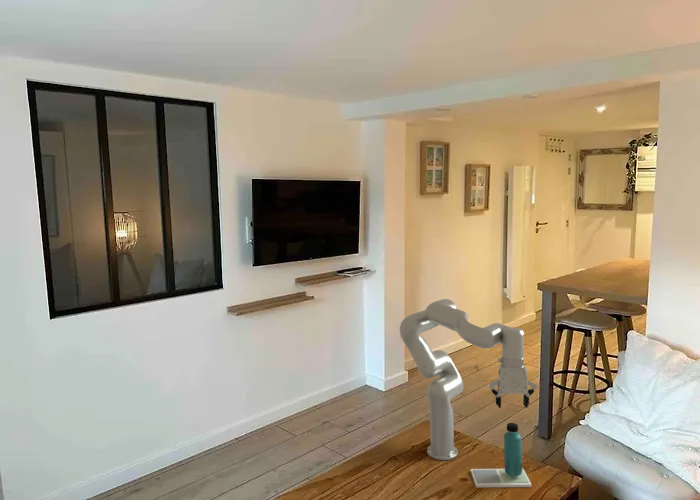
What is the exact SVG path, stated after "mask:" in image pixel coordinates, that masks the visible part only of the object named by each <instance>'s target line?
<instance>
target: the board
mask: <svg viewBox="0 0 700 500" xmlns="http://www.w3.org/2000/svg"><path fill="white" fill-rule="evenodd" d="M470 473H471V476H472V479H473V483H474V485H475V487H476V488H532V487H533V486H532V483H531V480H530V478H529V476H528V475H527V473H526V471H525V469H524V468H522V473H521V475H519V476H511V475H508V474H507V473H506V472H505V468H470Z"/></svg>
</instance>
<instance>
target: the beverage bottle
mask: <svg viewBox="0 0 700 500" xmlns="http://www.w3.org/2000/svg"><path fill="white" fill-rule="evenodd" d="M503 443H504V444H503V449H504V450H503V454H504V455H503V456H504V457H503V458H504V460H503V462H504V465H503V469H505V472H506V473H507V474H508V475H511V476H519V475H521V473H522V469H523V451H522V435H521V434H520V433H519V425H518V424H517V423H515V422H508V423H507V424H506V432H505V433H504V435H503Z"/></svg>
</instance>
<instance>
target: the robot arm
mask: <svg viewBox="0 0 700 500" xmlns="http://www.w3.org/2000/svg"><path fill="white" fill-rule="evenodd" d="M468 317H469V316H468V314H467V312H465V311H463V310H461V309H458V308H457V305H456V304H455V302H453V300H450V299H448V298H443V299H439V300H437V301H433V302H431V303H430V304H428V306H427V307H426V309H424V310H422V311H418V312H415V313H412V314H409V315H407V316H405V317H404V318H403V320H402V321H401V322H400V325H399V334H400V338H401V340H402V341H403V344H404V345H405V346H406V348H407V350H408V351H409V353H410V355H411V357H412V359H413V361H414V363H415V366H416V367H417V369H418V371H419V372H420V374H421V376H422V377H424V378H425V379H433V378H434V377H437V376H438V378H436V379H435V380H433V381H432V382H431V383H429V384H428V386H427V389H426V390H427V391H426V392H427V398H428V404H429V405H428V406H429V416H430V417H429V419H430V420H429V422H430V423H429V424H430V425H429V426H430V427H429V428H430V436H429V440H430V445H429V446H428V447H427V449H426V450H427V455H428V456H429V457H430V458H432V459H435V460H439V461H449V460H450V461H451V460H453V459H455V458H456V457H457V456H458V454H459V450H458V448H457V447H456V446H455V432H454V431H455V429H454V427H455V425H454V409H453V406H452V403H451V400H452V399H454V398H456V397H457V396H459V395H461V393H462V392H463V390H464V381H463V379H462V377H461V374H460V373H459V371H458V369H457V367H456V365H455V364H454V362H453V359H452V358H451V357H450V355H449V354H448V353H447V352H446V351H443V350H441V349H440V350H439V349H436V350H434V351H433V350H432V348H431V347H430V345H429V343H428V342H427V340H426V339H425V338H424V337H422V336H421V335H420V334H422V333H425V332H427V331H430V330H432V329H435V328H436V327H438V326H442V327H444V328H446V329H449V330H451V331H454V332H456V333H457V335H458V336H459V337H460V338H461V339H462V340H464V341H465V342H466V343H468V344H471V345H473V346H475V347H478V348H482V349H491V348H494V347H495V346H497V345H501V347H502V348H501V350H502V351H501V354H502V355H501V358H498V359H497V362H498V363H500V364H499V365H500V366H499V368H498V369H499V370H498V377H497V380H496V379H495V380H494V381H492V382H490V383H488V385H487V386H488V388H489V389H490V391H491V393H492V394H493V395H495V396H494V397H495V405H497V407H498V408H499V409H501V408H502V397H501V396H502V395H503V394H504V395H505V394H506V395H507V394H511V395H512V394H514V395H515V394H518V395H519V394H521V395H523V399H522V400H523V401H522V402H523V403H522V404H523V406H524V408H527V409H529V408H528V407H529V405H530V397H531V396H532V395H533V394H534V393H535V390H536V389H537V387H538V386H537V384H536V383H534V382H532V381H531V380H529V379H528V371H527V366H526V364H524V363H525V362H524V359H525V357H524V356H525V355H524V354H525V353H524V351H525V347H524V346H525V333H524V330H523V329H521V328H519V327H513V326H508V325H505V324H502V323H499V322H498V323H492V324H490V325H489V324H488V325H487V326H484V327H481V326H478V325H475V324H472V322H469V318H468ZM496 386H497V389H495V388H494V387H496ZM529 386H530V387H529Z"/></svg>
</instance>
